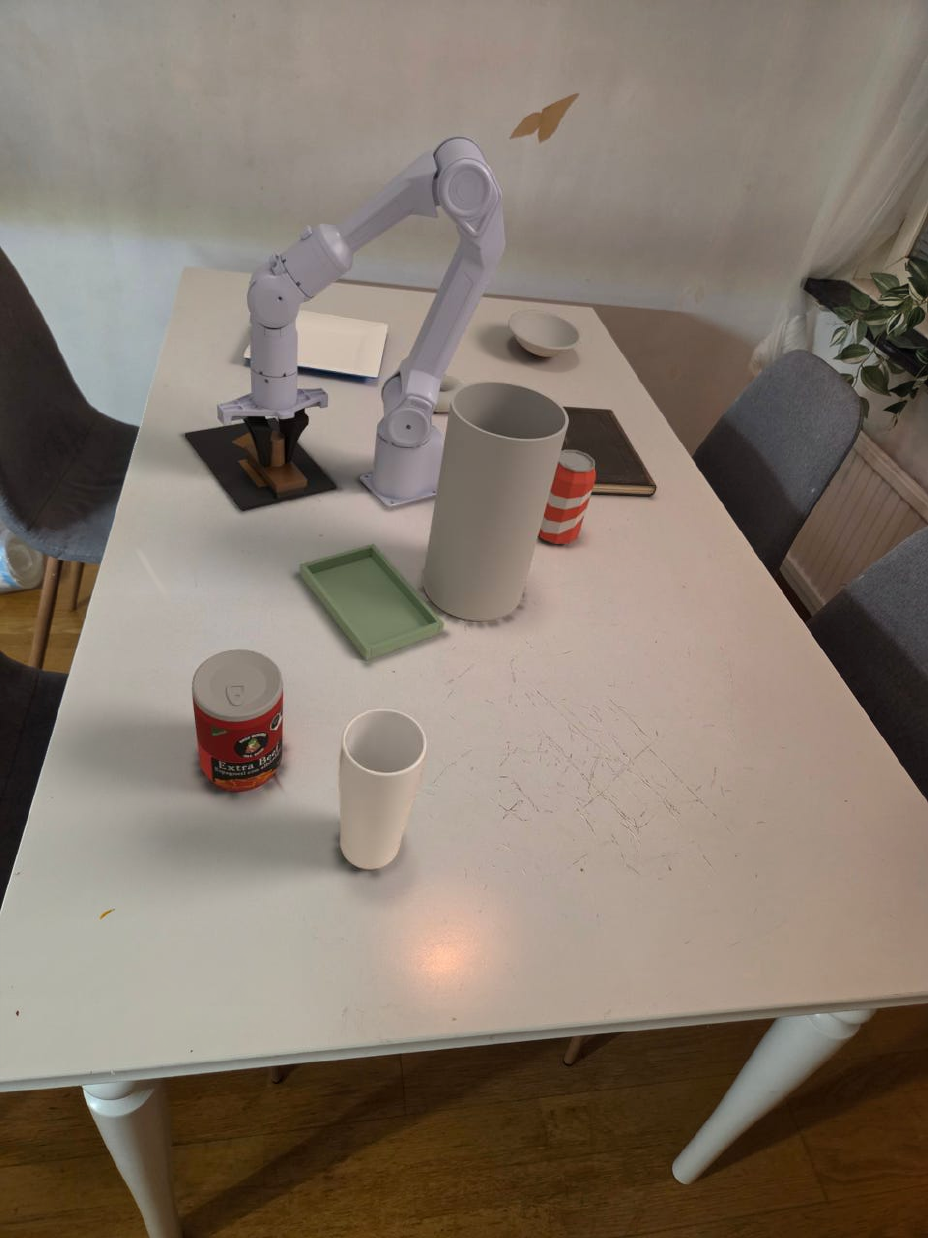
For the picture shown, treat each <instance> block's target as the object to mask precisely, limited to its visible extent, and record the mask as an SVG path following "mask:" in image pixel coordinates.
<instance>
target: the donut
mask: <svg viewBox="0 0 928 1238" xmlns="http://www.w3.org/2000/svg"><path fill="white" fill-rule="evenodd" d="M462 386H464V384H463V383H462V382H461V381H460V380H459V379H457V378H455V377H453V376H451V375H448V374H446V373H445V374H444V376H443V378H442V380H441V384H440V389H439V395H438V400H437V405H436V407H435V409H434V411H433V413H435V412H436V413H449V409H450V403H451V397H452V395H453V393H454V392H455V391H456V390H457V389H459V388H460V387H462Z"/></svg>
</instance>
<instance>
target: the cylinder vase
mask: <svg viewBox="0 0 928 1238" xmlns="http://www.w3.org/2000/svg"><path fill="white" fill-rule="evenodd" d="M463 385H464V384H463ZM562 406H563V405H562V404H560V403H559V402H558V401H557V400H555V399H554V398H552V397H551V396H550V395H548V394H545V392H542V391H539V390H537V389H535V388H532V387H529V386H526V385H523V384H518V383H514V382H508V381H500V380H499V381H498V380H484V381H483V380H481V381H475V382H471V383H467V384H465V385H464V386H462V387H460V388H459V389H457V390H456V391H455V392H454V393H453V395H452V397H451V403H450V409H449V412H448V416H447V422H446V429H445V435H444V447H443V454H442V460H441V466H440V473H439V479H438V485H437V492H436V495H435V499H434V505H433V511H432V518H431V524H430V529H429V530H430V531H429V538H428V544H427V548H426V549H427V550H426V556H425V562H424V570H423V575H422V585H423V590H424V592H425V594H426V596H427V597H428V598H429V600H430V601H431V602H432V604H434V605H435V606H436V607H437V608H438V609H440V610H441V611H443V612H444V613H446V614H448V615H450V616H453V617H455V618H458V619H462V620H466V621H472V622H488V621H489V622H490V621H495V620H499V619H502V618H504V617H506V616H508V615H509V614H511V613H512V612H513V611H514V610H515V609H516V608H518V605H519V604H520V603H521V600H522V597H523V593H524V590H525V586H526V582H527V579H528V575H529V572H530V567H531V563H532V560H533V556H534V552H535V548H536V545H537V542H538V538H539V531H540V527H541V523H542V520H543V516H544V512H545V509H546V505H547V501H548V497H549V494H550V490H551V486H552V483H553V479H554V475H555V471H556V468H557V464H558V460H559V457H560V453H561V449H562V446H563V442H564V438H565V434H566V431H567V427H568V423H569V418H568V415H567V413H566V411H565V409H564V408H563V407H562Z"/></svg>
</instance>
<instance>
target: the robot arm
mask: <svg viewBox="0 0 928 1238" xmlns="http://www.w3.org/2000/svg"><path fill="white" fill-rule="evenodd" d="M487 161H488V160H487V158H486V157H485V154H484V152H483V151H482V148H481V147H480V145H479V144H478V143H477V142H476V141H475V140H474V139H473V138H470V137H468V136H465V135H461V134H459V135H451V136H449V137H446V138H445V139H443V140H441V141H440V142H439V144H437V146H436V147H435V149H434V150H433V151H432V149H429V150H427V151H425V152H423V153H422V154H420V155H418V156H417V157H416V158H415V159H414V160H413V161H412V162H411V163H409V164H408V165H407V166H406V167H404V169H402V170H401V171H400V172H399V173H398V174H396V175H395V176H394V177H393V178H392V179H390V180H389V181H388V182H387V183H385V184H384V185H383V186H382V187H381V188H380V189H378V190H377V191H376V192H375V193H374V194H373V195H372V196H370V197H369V198H368V199H366V201H364V202H363V203H362V204H361V205H360V206H359V207H358V208H357V209H355V210H354V211H353V212H352V213H351V214H349V215H348V216H347V217H345V218H344V219H343V220H342V221H341V222H340V223H339V224H328V223H319V224H318V225H316V226H315V227H314V228H313V227H312V226H311V225H309V224H307V225H306V226H305V227H304V228H302V229H301V230H300V234H299V235H300V239H298V240H297V241H296V242H295V243H294V244H292V245H290V246H289V247H288V248H287V249H286V250H284V251H283V252H282V253H280V254H279V255H278V254H276V253H273V254H271V255H270V256H269V257H268V261H267V262H265V263H262V264H260V265H258V266H257V267H255V269H254V271H253V272H252V274H251V277H250V280H249V283H248V284H249V285H248V290H247V295H246V304H247V308H248V312H249V314H250V315H249V323H250V328H249V343H250V360H249V363H250V393H247V394H245V395H242V396H240V397H237V398H234V399H232V400H229V401H226V402H222V403H217V404H216V413H217V419H218V420H219V422H220V423H221V424H222V425H223V426H228V425H232V422H234V421H241V420H242V421H243V423H245V424H246V426H247V428H248V430H249V432H250V434H251V437H252V439H253V442H254V444H255V447H256V451H257V455H258V460H259V461H260V462H261V464H262V465H263V466H264V467H268V466H269V465H270V440H271V435H272V431H273V428H272V427H271V426H270V425H269V424H268V420H267V419H268V418H266V417H277V420H278V421H279V431H280V432H281V433H283V434H284V435H285V461H286V463H287V462H291V459H292V456H293V452H294V449H295V446H296V444H297V442H299V440H300V437H301V436H302V433H304V431H305V429H306V428H307V427H308V426H309V423H310V416H309V415H308V413H306V409H310V408H311V409H312V408H315V407H319V409H325V408H328V407H329V394H328V392H326V390H324V389H323V388H322V387H315V388H298V367H297V359H298V333H297V330H296V318H297V315H298V312H299V310H300V307H301V304H304V303H306V302H310V301H311V300H312V299H314V298H315V297H317V295H319V294H320V293H322V292H323V291H324V290H326V289H327V288H329V286H331V285H332V284H334V283H335V282H336V281H338V280H339V279H340V278H342V277H343V276H345V275H346V274H347V273H348V272H350V271H351V270H352V267H353V263H354V262H353V260H354V254H355V253H356V252H357V251H359V250H360V249H362V248H364V247H365V246H367V245H368V244H370V243H371V242H372V241H374V240H375V239H377V238H378V237H379V236H381V235H383V234H384V233H385V232H387V231H389V230H391V228H393V227H394V226H396V225H397V224H400V222H402V221H403V220H405V219H406V218H409V216H414V215H416V216H419V217H421V216H422V217H426V218H434V219H435V218H436V219H438V218H439V212H438V210H437V207H439V206H440V207H441V209H442V210H443V212H444V213H445V214H446V215H447V217H448V218H449V219H450V221H452V223H453V224H454V225H455V228H456V231H457V233H458V236H459V239H460V241H459V243H458V245H457V247H456V250H455V252H454V254H453V256H452V259H451V261H450V263H449V265H448V268H447V269H446V272H445V274H444V276H443V278H442V281H441V283H440V285H439V287H438V290H437V291H436V294H435V295H434V299H433V301H432V303H431V305H430V308H429V309H428V311H427V314H426V316H425V318H424V320H423V323H422V326H421V327H420V330H419V331H418V334H417V336H416V338H415V341H414V343H413V344H412V347H411V349H410V351H409V354H408V356H406V357H405V358H404V359H402V360H401V361H400V364H399V366H398V367H397V370H395V372H394V373H393V374H391V375H390V376H389V377H388V378H387V379H385V381H384V382H383V384H382V387H381V390H380V397H381V402H382V407H383V408H382V409H383V417H382V418H381V419H380V421H379V422H378V423H377V425H376V432H375V433H376V434H375V444H374V455H373V467H372V472H371V473H366V474H362V475H360V476H359V480H360V481H361V482H362V484H364V485H365V486H366V488H367V489H368V490H369V491H370V492H372V493H373V494H374V496H375V497H377V498H378V500H379V501H380V502H381V503H382V504H383V505H384V506H385V507H387V508H391V507H395V506H400V505H404V504H407V503H411V502H415V501H419V500H423V499H426V498H432V497H436V492H437V485H438V479H439V473H440V466H441V460H442V454H443V447H444V441H445V438H444V436H443V434H442V432H441V431H440V429H438V427H436V426H435V425H433V414H434V409H435V407H436V405H437V400H438V395H439V389H440V384H441V380H442V378H443V376H444V374H445V375H446V371H447V369H448V367H449V365H450V363H451V362H452V359H453V357H454V355H455V353H456V352H457V349H458V347H459V345H460V343H461V341H462V339H463V337H464V334H465V332H466V330H467V329H468V326H469V324H470V322H471V320H472V318H473V316H474V314H475V311H477V310H476V309H477V308H478V306H479V304H480V303H481V299H482V298H483V295H484V293H485V291H486V289H487V287H488V285H489V283H490V281H491V279H492V277H493V275H494V273H495V271H496V269H497V267H498V265H499V262H500V261H501V259H502V257H503V255H504V252H505V249H506V235H505V225H504V213H503V193H502V191H501V188H500V186H499V184H498V181H497V179H496V177H495V175H494V173H493V170H492V168H491V167H490V165H489V164H488V162H487Z"/></svg>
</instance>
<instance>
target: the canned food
mask: <svg viewBox="0 0 928 1238" xmlns="http://www.w3.org/2000/svg"><path fill="white" fill-rule="evenodd" d="M191 695H192V696H191V698H192V707H193V714H194V723H195V725H194V726H195V732H196V734H195V735H196V743H197V749H198V750H197V751H198V758H199V765H200V768H201V770H202V772H203V773H204V774H205V776H206V778H207V779H208V780H209V781H210V782H211V783H212V784H213V785H215V786H217V788H220V789H223V790H227V791H229V792H230V791H231V792H245V791H251V790H254V789H257V788H259V787H261V786H263V785H264V784H266V783H267V782H268V781H270V780H271V779H272V777H274V775H275V774H276V772H277V771H278V768H279V767H280V764H281V762H282V759H283V742H284V741H283V739H284V738H283V737H284V735H283V733H284V726H283V725H284V682H283V676H282V672H281V669H280V668H279V666H278V665H277V664H276V662H275V661H274V660H273V659H271V658H270V657H269V656H267V655H265V654H263V653H262V652H258V651H255V650H251V649H240V648H239V649H237V648H236V649H228V650H225V651H220V652H218V653H216V654H213V655H212V656H210V657H208V658H207V659H205V660H204V661H203V662H202V663H201V664H200V665H199V666H198V668H197V669H196V671H195V672H194V674H193V676H192V681H191Z"/></svg>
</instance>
